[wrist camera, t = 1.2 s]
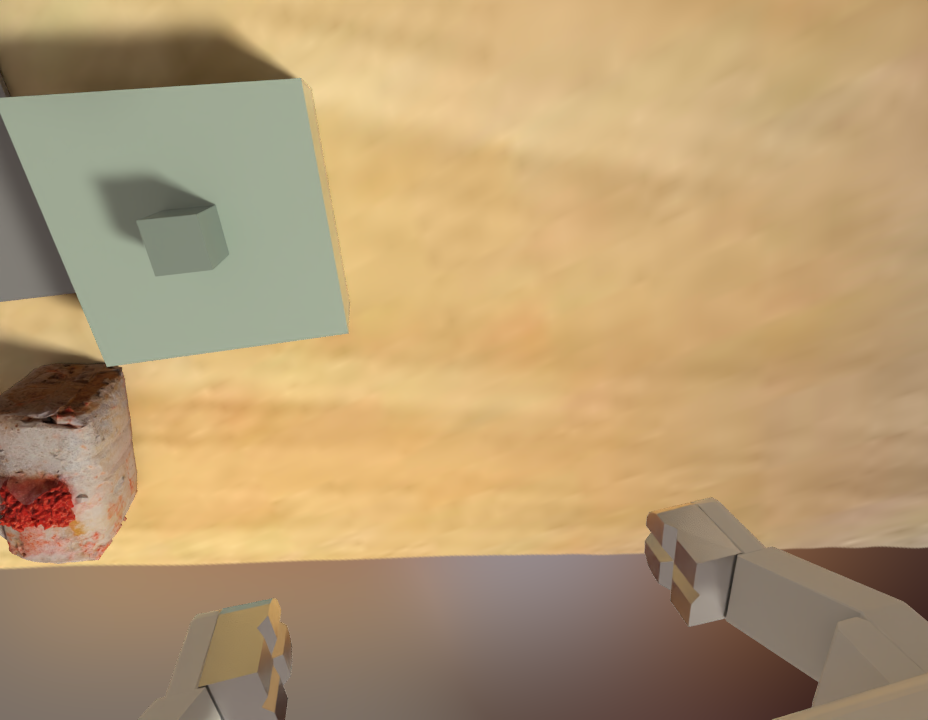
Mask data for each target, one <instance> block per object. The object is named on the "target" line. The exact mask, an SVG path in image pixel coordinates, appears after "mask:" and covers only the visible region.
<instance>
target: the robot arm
mask: <svg viewBox="0 0 928 720" xmlns="http://www.w3.org/2000/svg"><path fill="white" fill-rule="evenodd" d="M646 526H647V527H648V529H649V530H650V532H651V533H650V535H649V536H648V537H647V539H646V540H645V556H646V559H647V563H648V566H649V568H650V570H651V572H652V574H653V576H654V577H655V579H656V580H657V582H658V583H659V584H660V585H662V586H664V587H666V588H668V589H669V590H671V595H670V601H671V603H672V604H673V605H674V607H675V608H676V610H677V611H678V613H679V614H680V616H681V617H682V618H683V620H684V621H685V623H686V624H687V626H688V627H690V626H694V625H698V624H703V623H707V622H712V621H716V620H720V619H724V618H726V621H727V622H729V623H730V624H732V625H733V626H735V627H736V628H738V629H740V630H741V631H742V632H744V633H745V634H747V635H748V636H750V637H751V638H753V639H755V640H756V641H757V642H759V643H760V644H762V645H764V646H765V647H767V648H768V649H770V650H771V651H773V652H774V653H776V654H777V655H779V656H780V657H782V658H783V659H785V660H786V661H788V662H789V663H791V664H792V665H794V666H795V667H797V668H798V669H800V670H801V671H803V672H804V673H806V674H807V675H809V676H810V677H812V678H813V679H815V680H816V681H818V682H819V684H818V687H817V690H816V693H815V697H814V700H813V704H812V708H809V709H806V710H803V711H799V712H796V713H793V714H790V715H786V716H783V717H780V718H776V719H773V720H928V622H927V621H926V620H925V619H924V618H922V617H921V616H920V615H919V614H918V613H917V612H915V611H914V610H913V609H912V608H911V607H909V606H908V605H907V604H906V603H905V602H903V601H900V600H898V599H896V598H893V597H891V596H888V595H886V594H884V593H881V592H879V591H877V590H874V589H871V588H870V587H867V586H865V585H862V584H860V583H858V582H855V581H853V580H851V579H848V578H846V577H843V576H841V575H839V574H836V573H834V572H832V571H829V570H827V569H824V568H822V567H820V566H817V565H815V564H812V563H810V562H808V561H806V560H803V559H801V558H798V557H796V556H794V555H791V554H789V553H787V552H784V551H782V550H779V549H777V548H775V547H768V548H766V547H765V546H764V545H763V544H762V543H761V542H760V541H759V540H758V539H757V538H756V537H755V536H754V535H753V534H752V533H751V532H750V531H749V530H748V529H746V528H745V527H744V526H743V525H742V524H741V523H740V522H739V521H738V520H737V519H736V518H735V517H734V516H733V515H732V514H731V513H730V512H729V511H728V510H727V509H726V508H725V507H724V506H723V505H722V504H721V503H720V502H719V501H718V500H716V499H714V498H712V497H711V498H706V499H702V500H698V501H694V502H691V503H685V504H681V505H677V506H672V507H668V508H664V509H660V510H656V511H652V512H649V514H648V516H647V522H646ZM280 616H281V608H280V606H279V603H278V601H277V599H274V598H273V599H268V600H263V601H258V602H253V603H248V604H243V605H238V606H233V607H228V608H224V609H220V610H216V611H211V612H206V613H201V614H197V615H196V616H195V617H194V619H193V620H192V621H191V623H190V626H189V629H188V631H187V634H186V637H185V640H184V643H183V646H182V649H181V651H180V655H179V658H178V660H177V663H176V666H175V669H174V672H173V675H172V678H171V680H170V684H169V686H168V689H167V692H166V695H165V697H162V698H158V699H156V700H155V701H154V702H153V703H152V704H151V706H150V707H149V708H148V709H147V710H146V711H145V712H144V713H143V714H142V715H141V717H140V718H139V719H138V720H285V718H286V711H287V703H288V697H287V694H286V692H285V689H284V684H285V683H286V682H287V680H288V679H289V677H290V676H291V669H292V643H291V638H290V633H289V630H288V627H287V625H285V624H283V623H282V622H280Z"/></svg>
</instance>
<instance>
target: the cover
mask: <svg viewBox="0 0 928 720" xmlns="http://www.w3.org/2000/svg"><path fill="white" fill-rule="evenodd" d="M0 114H1V116H2V119H3V121H4V124H5V126H6V128H7V131H8V133H9V135H10V138H11V140H12V143H13V145H14V147H15V150H16V152H17V154H18V157H19V159H20V162H21V164H22V166H23V169H24V171H25V173H26V176H27V178H28V181H29V183H30V185H31V188H32V190H33V192H34V195H35V197H36V200H37V202H38V204H39V207H40V209H41V211H42V214H43V216H44V219H45V221H46V223H47V226H48V228H49V230H50V233H51V235H52V238H53V240H54V242H55V245H56V247H57V249H58V252H59V254H60V257H61V259H62V261H63V264H64V266H65V268H66V271H67V273H68V276H69V278H70V280H71V283H72V285H73V287H74V290H75V292H76V295H77V297H78V299H79V302H80V304H81V306H82V309H83V311H84V314H85V316H86V318H87V321H88V323H89V325H90V328H91V330H92V333H93V335H94V337H95V340H96V342H97V344H98V347H99V349H100V352H101V354H102V356H103V359H104V361H105V363H106V366H107V367H110V366H117V365H124V364H132V363H139V362H146V361H153V360H160V359H168V358H175V357H182V356H189V355H196V354H204V353H211V352H218V351H225V350H232V349H240V348H247V347H254V346H261V345H268V344H276V343H283V342H290V341H297V340H305V339H312V338H319V337H326V336H333V335H341V334H348V333H349V311H350V300H349V295H348V289H347V284H346V278H345V273H344V267H343V262H342V256H341V250H340V245H339V239H338V234H337V228H336V223H335V217H334V212H333V206H332V200H331V195H330V189H329V184H328V178H327V173H326V167H325V162H324V156H323V150H322V145H321V139H320V134H319V128H318V123H317V117H316V112H315V106H314V101H313V95H312V89H311V88H310V87H309V86H308V85H307V84H306V83H305V82H304V81H303V80H302V79H301V78H295V79H280V80H265V81H250V82H234V83H219V84H204V85H189V86H173V87H158V88H143V89H127V90H112V91H97V92H82V93H66V94H51V95H36V96H21V97H5V98H0Z"/></svg>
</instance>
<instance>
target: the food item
mask: <svg viewBox="0 0 928 720" xmlns="http://www.w3.org/2000/svg"><path fill="white" fill-rule="evenodd" d="M136 493H137V470H136V464H135V457H134V452H133V442H132V428H131V419H130V413H129V408H128V400H127V393H126V386H125V378H124V375H123V372H122V367H117V366H110V367H107V366H106V364H90V365H82V364H52V365H44V366H41V367H39V368H36V369H34V370H33V371H32V372H30V373H29V374H28V375H27V376H26V377H25V378H24V379H22V380H21V381H19V382H18V383H16V384H15V385H14V386H12V387H11V388H10V389H9V390H7V391H5V392H4V393H3V394H1V395H0V535H1V536H2V537H3V538H5V539H6V540H7V542H8V544H9V551H10V552H11V553H12V554H14V555H17V556H19V557H21V558H23V559H26V560H30V561H34V562H44V563H48V562H51V563H57V564H60V563H66V562H78V561H86V560H99V559H100V557H101V555H102V554H103V553H104V551H105V550H106V549H107V547H108V546H109V545H110V544H111V542H112V538H113V537H114V536H115V535H116V534H117V532H118V531H119V529H120V528H121V526H122V524H121V522H122V521H123V520H124V521H126V519H127V518H126V517H125V515H126V513H127V511H128V510H129V507H130V505H131V503H132V501H133V500H134V497H135V495H136Z"/></svg>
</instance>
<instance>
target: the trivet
mask: <svg viewBox="0 0 928 720" xmlns="http://www.w3.org/2000/svg"><path fill="white" fill-rule="evenodd" d="M5 97H10V94H9V92H8V89H7V87H6V84H5V82H4V79H3V77H2V74H1V72H0V98H5ZM70 293H76V292H75V290H74V287H73V285H72V283H71V280H70V278H69V276H68V273H67V271H66V268H65V266H64V264H63V261H62V259H61V257H60V254H59V252H58V249H57V247H56V245H55V242H54V240H53V238H52V235H51V233H50V230H49V228H48V226H47V223H46V221H45V219H44V216H43V214H42V211H41V209H40V207H39V204H38V202H37V200H36V197H35V195H34V192H33V190H32V188H31V185H30V183H29V181H28V178H27V176H26V173H25V171H24V169H23V166H22V164H21V162H20V159H19V157H18V154H17V152H16V150H15V147H14V145H13V143H12V140H11V138H10V135H9V133H8V131H7V128H6V126H5V124H4V121H3V119H2V116H1V114H0V302H3V301H11V300H20V299H28V298H37V297H45V296H54V295H62V294H70Z"/></svg>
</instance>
